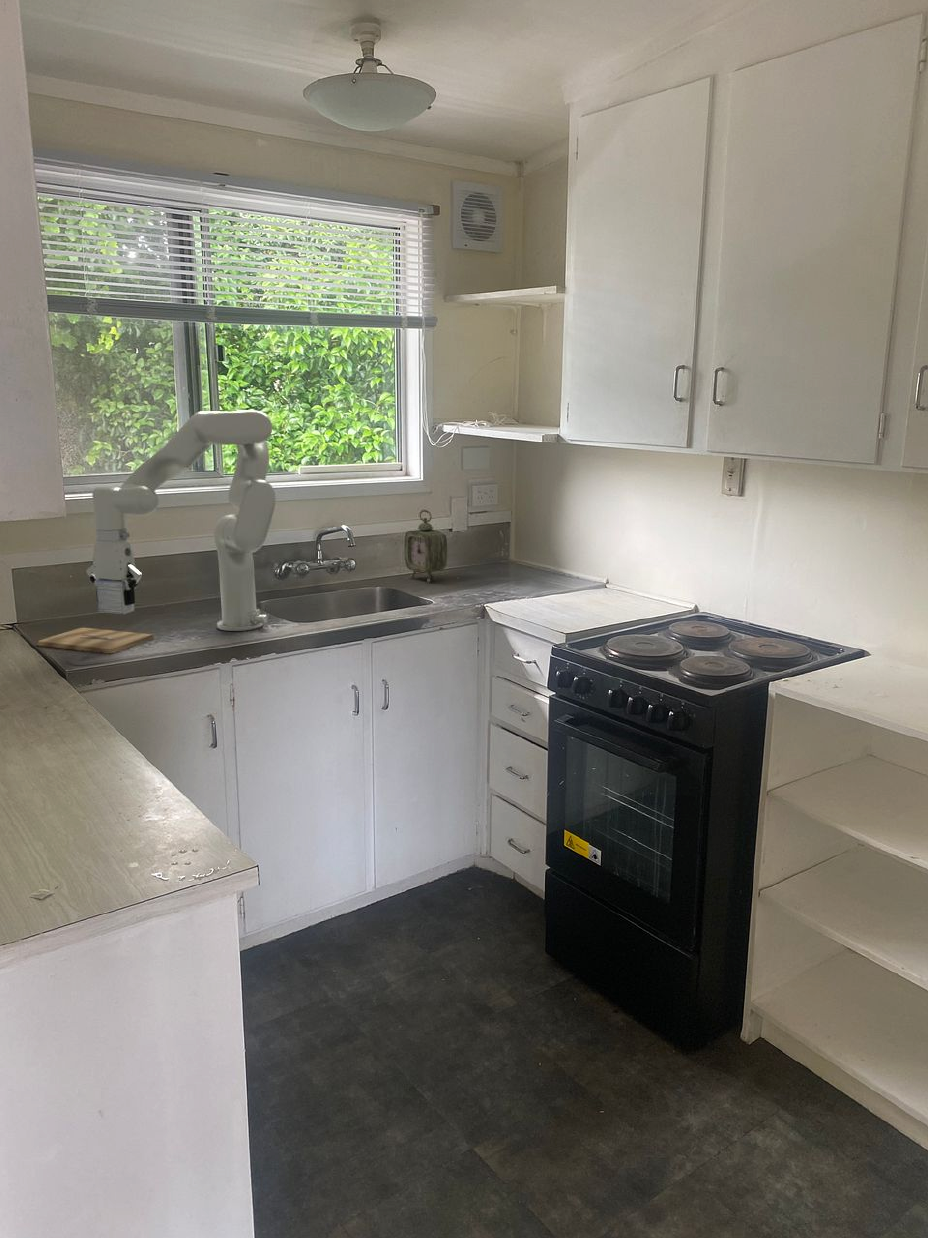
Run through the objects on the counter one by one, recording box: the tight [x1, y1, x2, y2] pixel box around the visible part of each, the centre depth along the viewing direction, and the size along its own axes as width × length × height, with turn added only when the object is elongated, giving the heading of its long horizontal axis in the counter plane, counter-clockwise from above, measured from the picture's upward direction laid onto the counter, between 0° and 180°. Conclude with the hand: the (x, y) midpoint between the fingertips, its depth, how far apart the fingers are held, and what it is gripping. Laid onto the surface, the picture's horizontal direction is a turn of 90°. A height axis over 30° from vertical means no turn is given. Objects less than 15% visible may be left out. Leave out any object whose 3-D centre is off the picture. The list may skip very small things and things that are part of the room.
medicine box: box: [96, 579, 135, 615], centre depth 239 cm, size 8×4×9 cm, turn 72°
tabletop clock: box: [404, 509, 448, 584], centre depth 327 cm, size 14×9×25 cm, turn 37°
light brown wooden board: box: [37, 626, 155, 654], centre depth 245 cm, size 24×16×1 cm, turn 70°
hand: (116, 602), depth 240 cm, fingers closed on medicine box, 8 cm apart
